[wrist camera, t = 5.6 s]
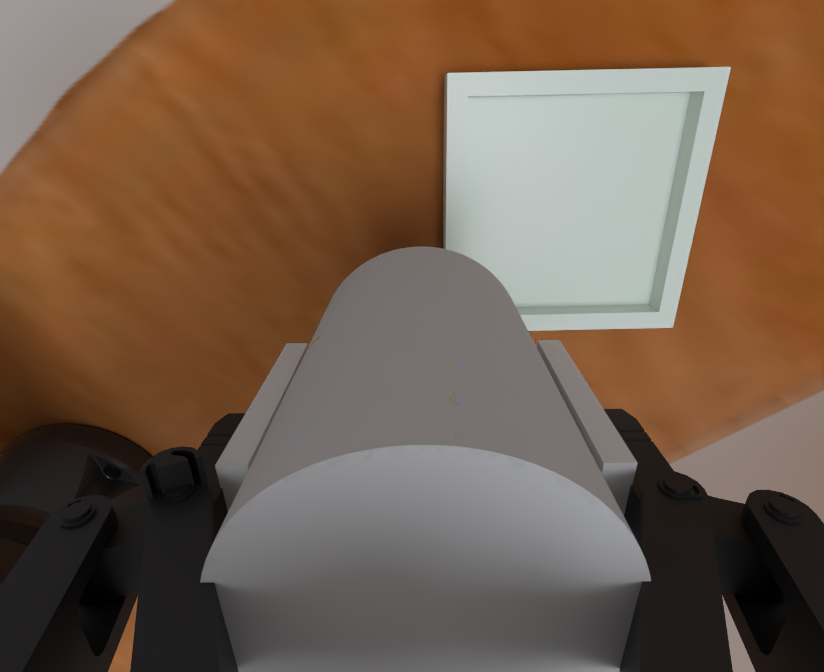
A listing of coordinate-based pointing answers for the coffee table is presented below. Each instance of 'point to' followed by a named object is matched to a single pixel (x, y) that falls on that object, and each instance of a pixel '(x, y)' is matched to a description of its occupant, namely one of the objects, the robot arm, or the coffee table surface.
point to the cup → (425, 496)
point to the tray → (580, 187)
